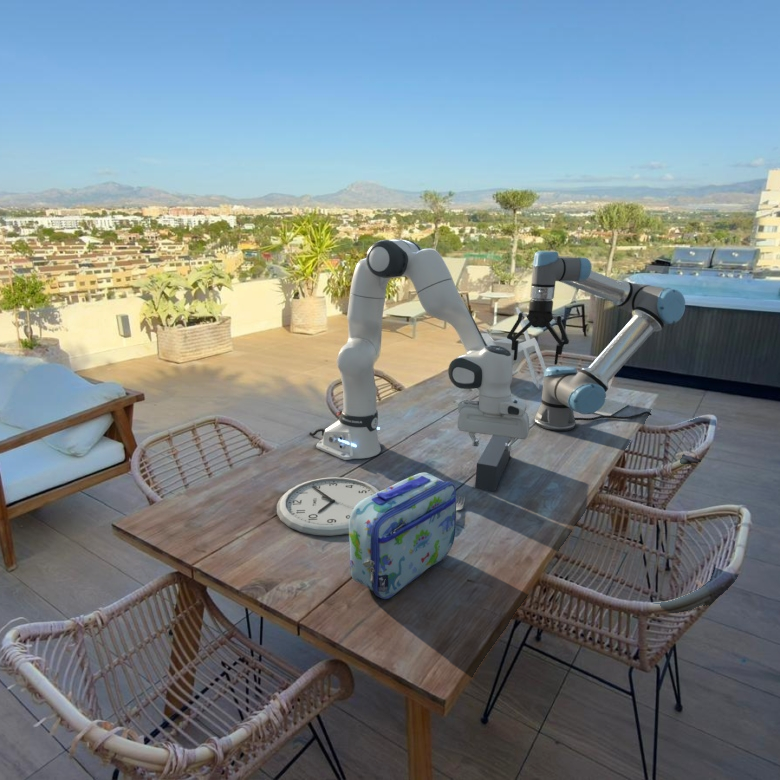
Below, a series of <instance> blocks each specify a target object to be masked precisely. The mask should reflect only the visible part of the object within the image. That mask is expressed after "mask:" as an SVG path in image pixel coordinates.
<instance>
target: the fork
mask: <svg viewBox="0 0 780 780" xmlns="http://www.w3.org/2000/svg"><path fill="white" fill-rule="evenodd" d="M460 498H461V499H460ZM465 498H466V496H464V498H463V497H461V496H460V495H458V494H456V512H457V511H462V510H463V509H464V504H465Z"/></svg>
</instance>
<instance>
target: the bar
mask: <svg viewBox="0 0 780 780" xmlns="http://www.w3.org/2000/svg"><path fill="white" fill-rule="evenodd" d="M510 442H511V441H510V437H502V436H495V435H491V437H490V439H489V441H488V442H487V445H486V446H485V448H484V450H483V452H482V453H481V454H480V457H479V458H478V461H477V462H476V468H475V469H476V470H475V481H474V483H475V484H474V488H475V489H479V490H486V491H489V492H490V491H491V492H495V491H496V489H497V487H498V484H499V482H500V480H501V478H502V476H503V473H504V471H505V468H506V466H507V464H508V461H509V460H510V458H511V450H510V451H505V445H506V443H507V444H509V443H510Z"/></svg>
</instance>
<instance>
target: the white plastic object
mask: <svg viewBox="0 0 780 780" xmlns="http://www.w3.org/2000/svg"><path fill="white" fill-rule="evenodd" d="M515 311H516V314H517V317H518V316H519V313H520V312H522V311H521V310H520V307H519V306H517V307H515ZM526 325H527V324H526V322H525V318H524V319H523V320H522V321H521V322H520V326H521V330H522V329H523V328H524V327H525V326H526ZM480 333H481V335H482V337H483V339H484V341H485V343H486V344H487V345H488V346H489V345H493V346H500V347H503V348H505V349H507V350H508V351H509V352H510V353H511V356H512V366H513V365H515V364H517V363H518V362H520V361H521V360H522V359H523V358H524V357H525V360H526V363H527V367H528V370H529V372H530V376H531V379H532V382H533V384H534V386H535V387H536V388H537V389H538V390H540V383H539V380H538V377H537V374H536V371H535V368H534V365H533V361H532V359H531V356H530V354H533V353H535V352H536V355H537V359H538V362H539V364H540V367H541V370H542V373H543V374H544V373H545V370H546V369H547V366H546V364H545V363H546V362H545V360H544V358H543V355H542V351H541V348H540V345H539V343H538V341H537V339H536V338H535V337H532V338H531V337H530V334H529V332H528V329H527V330H526V331H525V332H524V333H523V336H524V338H525V341H522V342H518V352H517V359H516V360H514V350H512V349H511V347H512V340H510V339H507V337H505V338H501V339H497V340H494V339H493V338H492V337H491V335H490V334H489V333H487V332H486V333H485V332H483V333H482V332H480Z"/></svg>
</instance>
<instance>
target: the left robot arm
mask: <svg viewBox="0 0 780 780" xmlns="http://www.w3.org/2000/svg"><path fill="white" fill-rule="evenodd" d="M365 256H366V258H363V259H360V260H358V262H357V263H356V265H355V268H354V271H353V274H352V279H351V284H350V289H349V298H348V306H347V315H346V319H347V323H348V337H347V342H346V343H345V344H344V345H342V346H341V348H340V349H339V351H338V354H337V358H336V365H337V368H338V370H339V375H340V379H341V384H342V396H343V397H342V402H343V403H342V406H343V407H342V409H340V411H338V412H336V417H338V416H339V418H338V419H337V420H336V421H335V422H333V423H331V424H330V425H328V426H325V427H324V428H317V429H316V430H314V432H312V431H311V432H309V433H308V434H309V435H310V436H311V437H314V436H315V435H317V433H319V432H321V436H322V439H320V440H319V441H318V442H317V443H316V449H318V450H320V451H322V452H325V453H327V454H329V455H331V456H334V457H335V458H339V459H340V460H343V461H350V460H355V459H357V460H359V459H368V458H373V457H375V456H377V455H379V454H380V453H381V451H382V448H381V445H380V440H379V434H378V430H379V431H380V429H381V427H379V426H378V424H379V411H378V410H377V405H378V403H377V402H378V401H377V399H378V391H377V390H378V389H377V386H376V380H375V373H374V370H375V369H374V368H375V364H376V363H377V361H378V360H379V359H380V356H381V350H382V349H381V348H382V337H383V336H382V331H383V329H382V327H383V316H384V309H385V301H386V295H387V288H388V283H389V282H390V281H391V279H400V278H408V279H409V280H410V281H411V283H412V285H413V287H414V290H415V293H416V295H417V298H418V300H419V303H420V305H421V306H422V308H423V310H424V311H425V312H426V314H427V315H429V316H430V317H432V318H435V319H438V320H442V321H445V322H446V323H448V324H450V326H452V327H453V329H454V330H455V332H456V334H457V336H458V338H459V340H460V342H461V344H462V346H463V348H464V350H465V353H464V354H462V355H459V356H457V357H456V358H454V359H453V360H452V361H451V362H450V363H449V365H448V370H447V372H448V379H449V380H450V382H451V383H452V384H453V385H454V387H456V388H458V389H462V390H472V389H473V390H475V389H477V390H478V400H471V399H470V400H469V399H463V400H461V401H459V402H458V406H457V410H458V413H459V415H458V418H457V429H458V430H459V431H461V432H468V436H469V437H470V440H471V442H472V447H476V448H477V447H479V445H480V443H479V441H480V439H479V438H476V435H475V434H481V435H482V434H483V435H489V436H493V435H495V436H502V437H510V441H511V442H510V443H509V444H507V443H506V445H505V451H510V452H511V451H512V446H513V444H514V443H515V442H516V440H526V439H527V438H528V437H529V434H530V418H529V414H528V412H527V403H526V402H525V401H523V400H520V399H519V398H516V397H513V396H512V390H511V384H512V381H513V369H514V368H513V365H512V356H511V353H510V352H509V351H508V350H507V349H505V348H503V347H500V346H493V345H489V346H488V345H487V344H486V343H485V341H484V339H483V337H482V335H481V333H482V332H481V331H480V329H479V327H478V325H477V323H476V320H475V319H474V317H473V315H472V313H471V311H470V309H469V308H468V306H467V304H466V303H465V301H464V300H463V298H462V297H461V294H460V293H459V291H458V289H457V285H456V284H455V281H454V279H453V277H452V274H451V272H450V270H449V268H448V266H447V264H446V262H445V260H444V259H443V257H442V256H441V254H440V253H439V251H438V250H436V249H434V248H423V249H422V248H421V246H419V244H417V243H416V242H414V241H411V240H405V239H399V238H395V239H382V240H378V241H376V242H374V243H373V244H372V245H371V246H370V247H369V248H368V250H367V252H366V255H365Z"/></svg>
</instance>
